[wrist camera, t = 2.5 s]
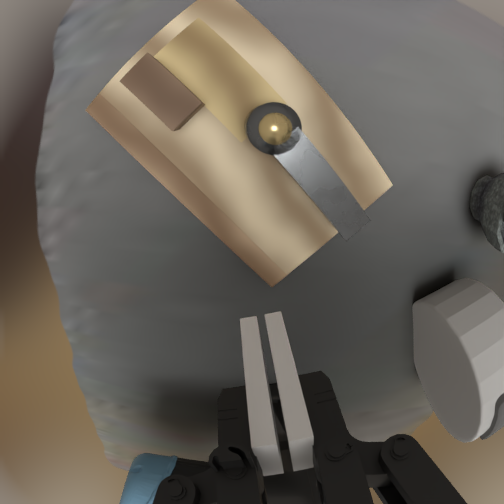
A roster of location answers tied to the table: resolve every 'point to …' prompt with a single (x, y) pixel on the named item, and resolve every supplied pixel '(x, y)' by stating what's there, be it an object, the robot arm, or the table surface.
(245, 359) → the robot arm
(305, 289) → the table surface
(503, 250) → the mortar and pestle
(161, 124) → the board
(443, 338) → the alarm clock
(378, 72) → the table surface
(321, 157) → the latch bar
